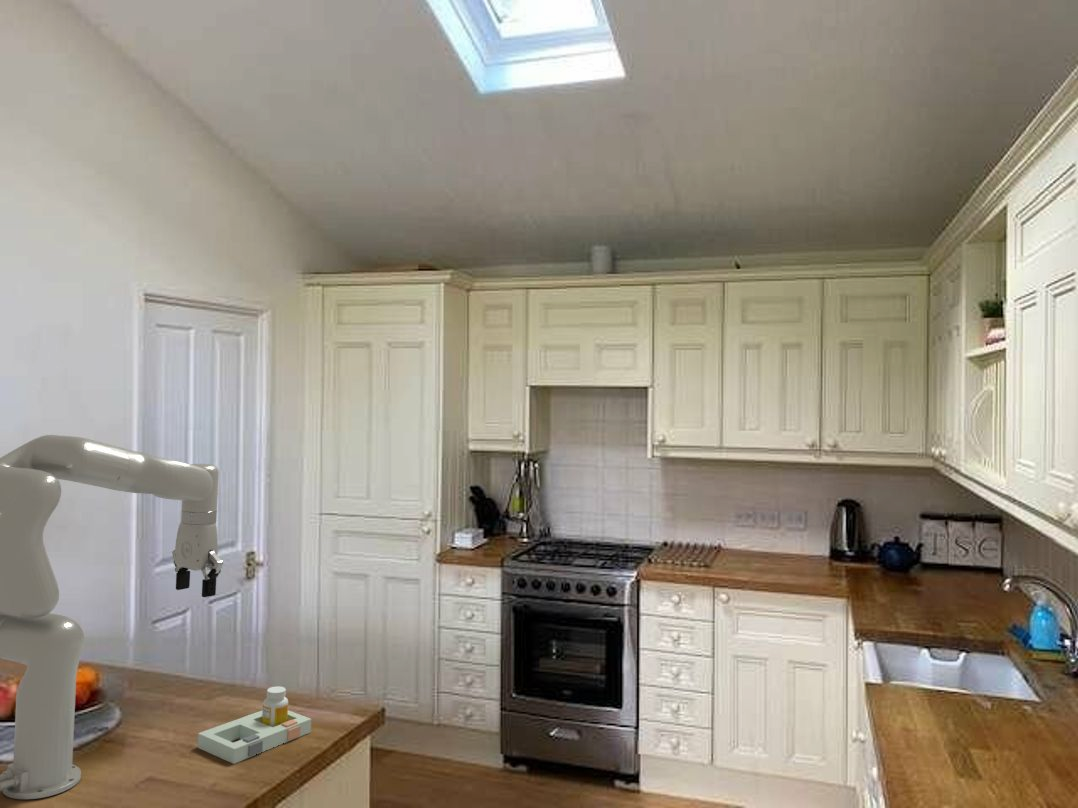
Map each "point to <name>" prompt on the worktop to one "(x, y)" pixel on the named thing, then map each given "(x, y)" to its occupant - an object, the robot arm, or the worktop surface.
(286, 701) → the supplement bottle
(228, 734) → the socket board
